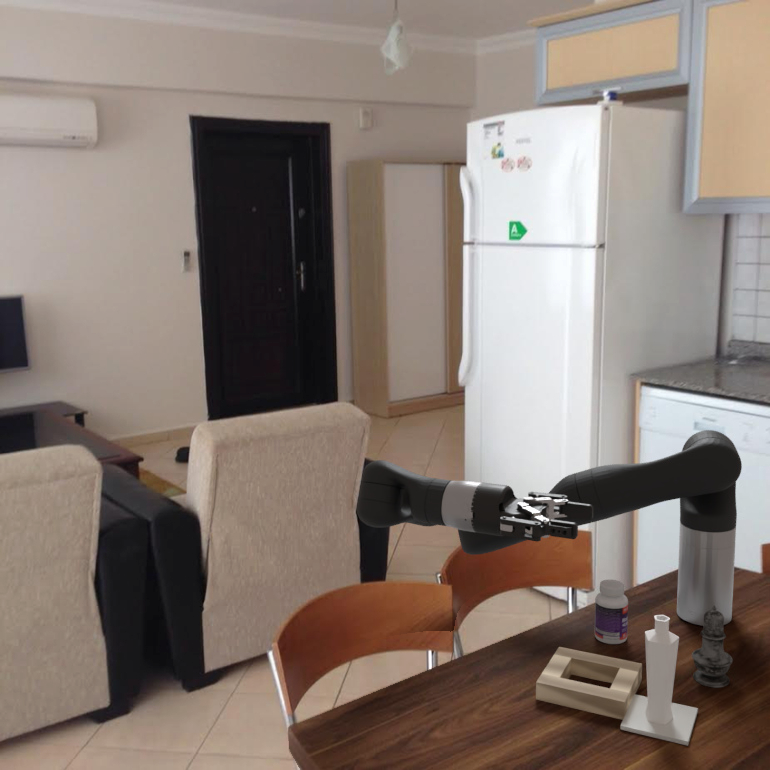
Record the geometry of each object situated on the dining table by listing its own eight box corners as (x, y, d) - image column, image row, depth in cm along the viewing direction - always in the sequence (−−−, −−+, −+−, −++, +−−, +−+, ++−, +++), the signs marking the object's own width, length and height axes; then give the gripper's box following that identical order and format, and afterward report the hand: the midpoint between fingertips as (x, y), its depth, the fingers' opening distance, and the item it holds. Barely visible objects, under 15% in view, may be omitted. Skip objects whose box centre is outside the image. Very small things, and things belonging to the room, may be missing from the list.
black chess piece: (735, 690, 129) (738, 615, 127) (693, 687, 131) (696, 612, 128) (727, 670, 135) (731, 598, 133) (688, 667, 136) (691, 596, 134)
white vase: (677, 711, 123) (681, 613, 120) (673, 728, 119) (677, 627, 116) (644, 704, 125) (647, 608, 122) (639, 720, 121) (642, 621, 118)
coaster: (634, 697, 128) (634, 694, 128) (697, 712, 124) (697, 708, 124) (620, 729, 120) (620, 725, 120) (688, 745, 116) (688, 741, 116)
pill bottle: (628, 646, 144) (630, 591, 142) (595, 644, 145) (596, 589, 143) (625, 631, 149) (626, 578, 147) (593, 629, 150) (594, 576, 148)
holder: (559, 662, 139) (559, 646, 138) (641, 680, 133) (642, 663, 132) (535, 699, 128) (536, 682, 128) (624, 720, 122) (624, 702, 122)
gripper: (494, 516, 136) (597, 530, 129) (460, 546, 124) (571, 564, 117) (494, 470, 135) (598, 482, 128) (459, 496, 123) (571, 511, 115)
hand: (585, 521), depth 122 cm, fingers open, 8 cm apart
